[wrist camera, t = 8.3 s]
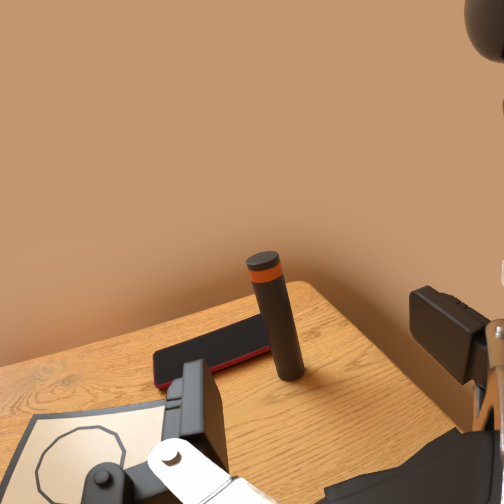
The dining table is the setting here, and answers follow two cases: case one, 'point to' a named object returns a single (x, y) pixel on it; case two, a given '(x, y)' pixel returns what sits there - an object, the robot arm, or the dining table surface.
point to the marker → (276, 313)
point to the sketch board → (78, 450)
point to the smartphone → (212, 350)
